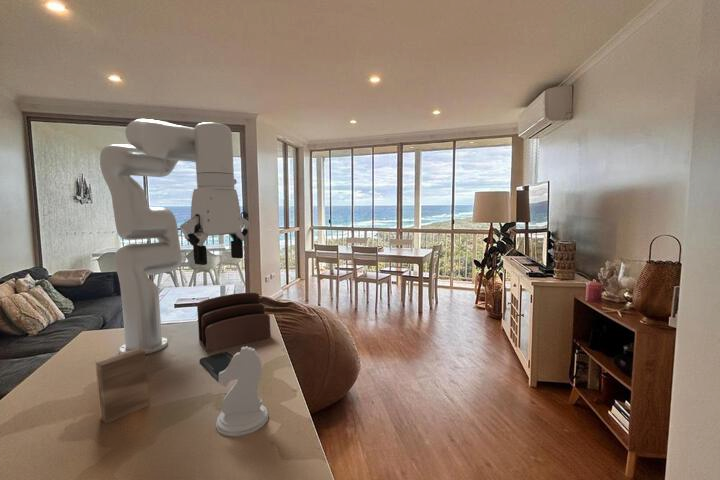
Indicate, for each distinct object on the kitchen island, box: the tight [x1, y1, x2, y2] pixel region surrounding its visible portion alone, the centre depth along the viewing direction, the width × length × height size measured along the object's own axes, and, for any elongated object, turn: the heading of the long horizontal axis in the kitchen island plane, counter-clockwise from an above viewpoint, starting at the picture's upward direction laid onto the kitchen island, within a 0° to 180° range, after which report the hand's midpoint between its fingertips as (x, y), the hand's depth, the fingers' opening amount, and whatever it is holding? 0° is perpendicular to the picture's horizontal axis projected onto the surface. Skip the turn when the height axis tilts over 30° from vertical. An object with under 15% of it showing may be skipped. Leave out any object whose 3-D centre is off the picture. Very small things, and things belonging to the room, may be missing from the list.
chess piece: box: [215, 345, 269, 437], centre depth 70 cm, size 10×10×15 cm
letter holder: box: [196, 292, 272, 353], centre depth 113 cm, size 10×20×14 cm, turn 126°
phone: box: [199, 351, 234, 381], centre depth 95 cm, size 8×1×15 cm
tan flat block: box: [94, 348, 150, 424], centre depth 74 cm, size 3×8×12 cm, turn 144°
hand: (220, 261), depth 79 cm, fingers open, 9 cm apart
